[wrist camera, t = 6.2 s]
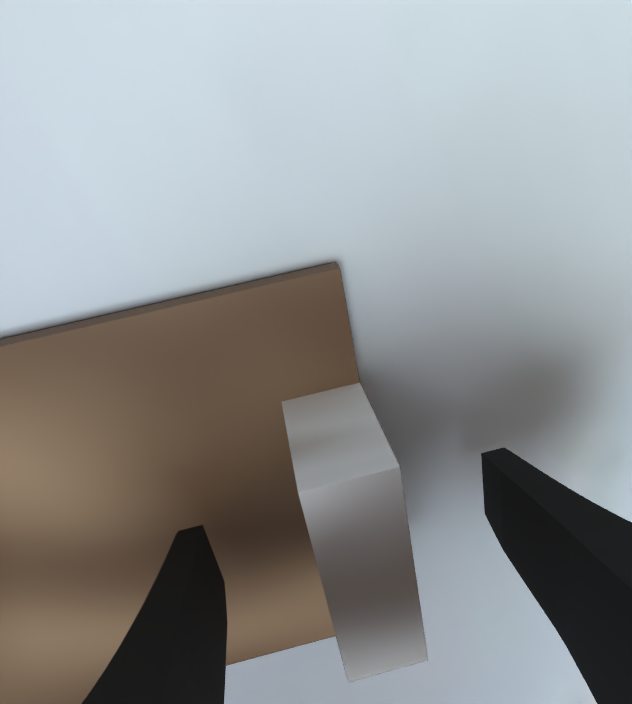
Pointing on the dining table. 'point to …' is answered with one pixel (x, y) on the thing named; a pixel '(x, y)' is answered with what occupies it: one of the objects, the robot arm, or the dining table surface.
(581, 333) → the dining table surface
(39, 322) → the dining table surface
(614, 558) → the robot arm
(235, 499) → the brown wooden flat board
